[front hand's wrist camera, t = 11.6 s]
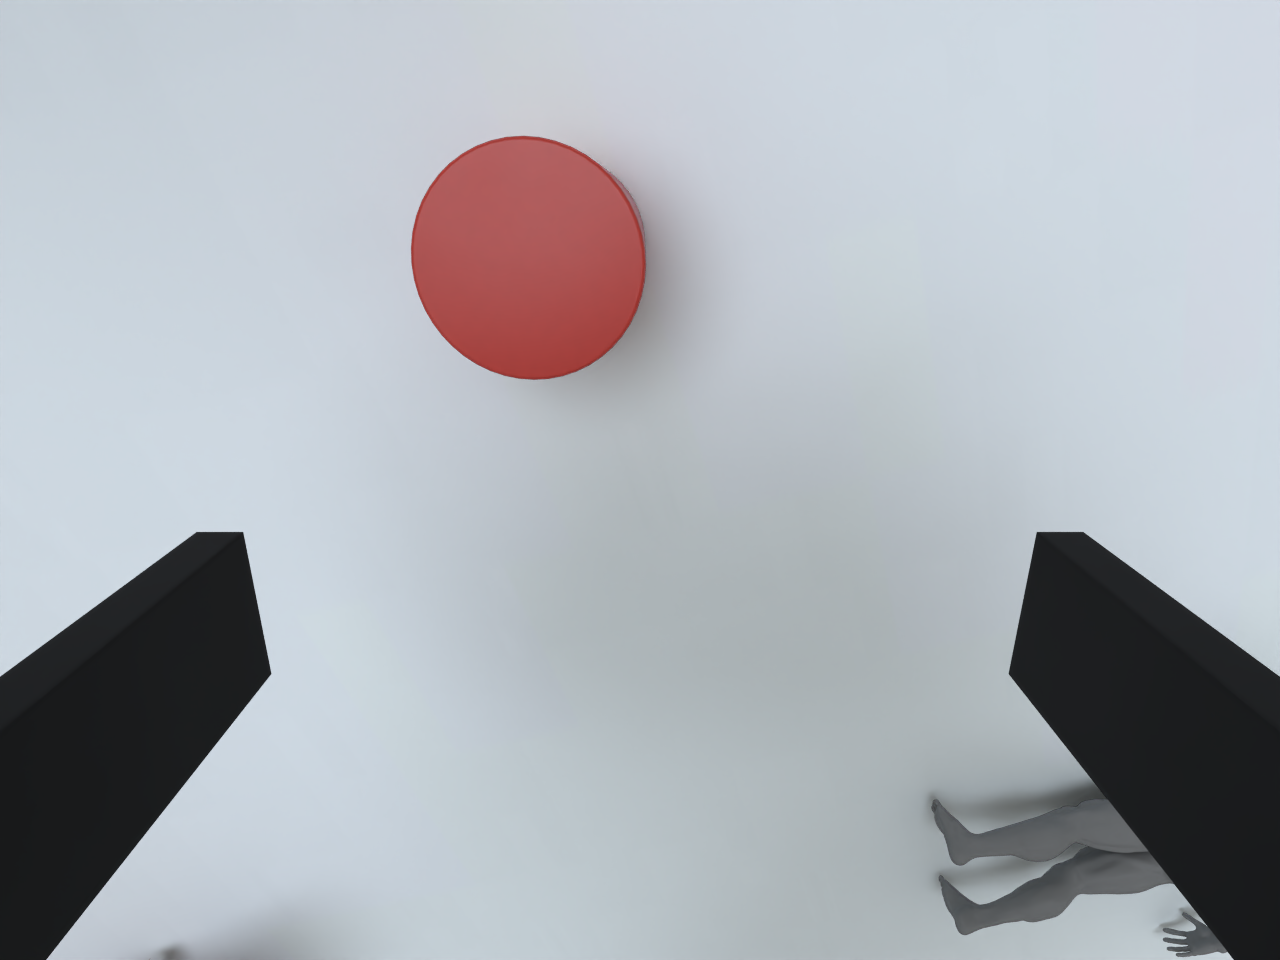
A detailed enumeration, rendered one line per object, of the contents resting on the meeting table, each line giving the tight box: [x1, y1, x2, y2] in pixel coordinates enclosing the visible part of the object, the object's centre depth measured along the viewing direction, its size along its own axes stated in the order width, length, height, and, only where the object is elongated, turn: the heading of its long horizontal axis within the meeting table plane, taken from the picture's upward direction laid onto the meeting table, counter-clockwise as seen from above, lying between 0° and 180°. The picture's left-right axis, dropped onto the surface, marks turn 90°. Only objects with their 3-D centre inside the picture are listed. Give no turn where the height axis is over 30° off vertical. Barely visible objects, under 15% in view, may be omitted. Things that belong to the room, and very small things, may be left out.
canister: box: [411, 136, 646, 380], centre depth 22 cm, size 6×6×9 cm
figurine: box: [932, 799, 1227, 957], centre depth 33 cm, size 17×4×20 cm
